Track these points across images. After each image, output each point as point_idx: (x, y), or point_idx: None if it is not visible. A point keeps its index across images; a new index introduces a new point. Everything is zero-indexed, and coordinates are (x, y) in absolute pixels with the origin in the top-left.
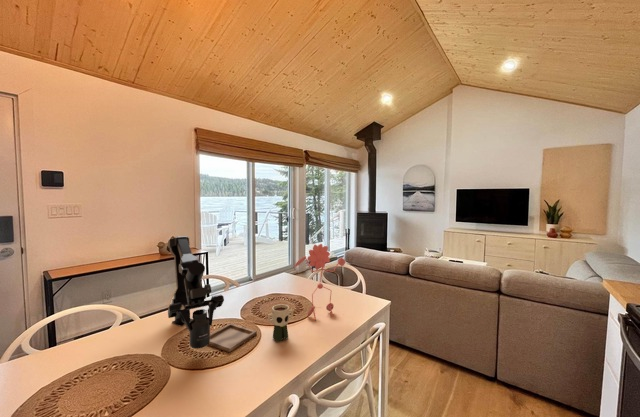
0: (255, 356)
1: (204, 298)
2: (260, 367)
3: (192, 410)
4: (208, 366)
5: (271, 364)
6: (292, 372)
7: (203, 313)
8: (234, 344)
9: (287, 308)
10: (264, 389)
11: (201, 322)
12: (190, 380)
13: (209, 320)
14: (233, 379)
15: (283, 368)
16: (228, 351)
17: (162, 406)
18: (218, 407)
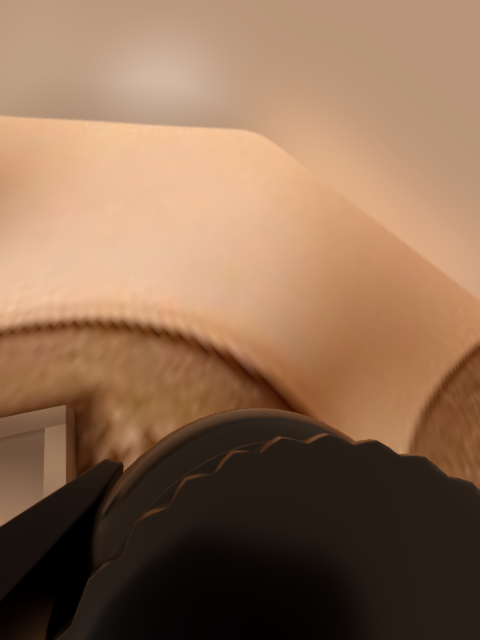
0: (31, 276)
1: None
2: (91, 211)
3: (369, 219)
4: (235, 379)
5: (49, 194)
6: (52, 128)
7: (298, 459)
8: (3, 428)
9: None
10: (174, 143)
11: (308, 434)
12: (337, 345)
13: (117, 481)
14: (209, 232)
15: (47, 155)
16: (74, 421)
17: (444, 292)
18: (308, 181)
